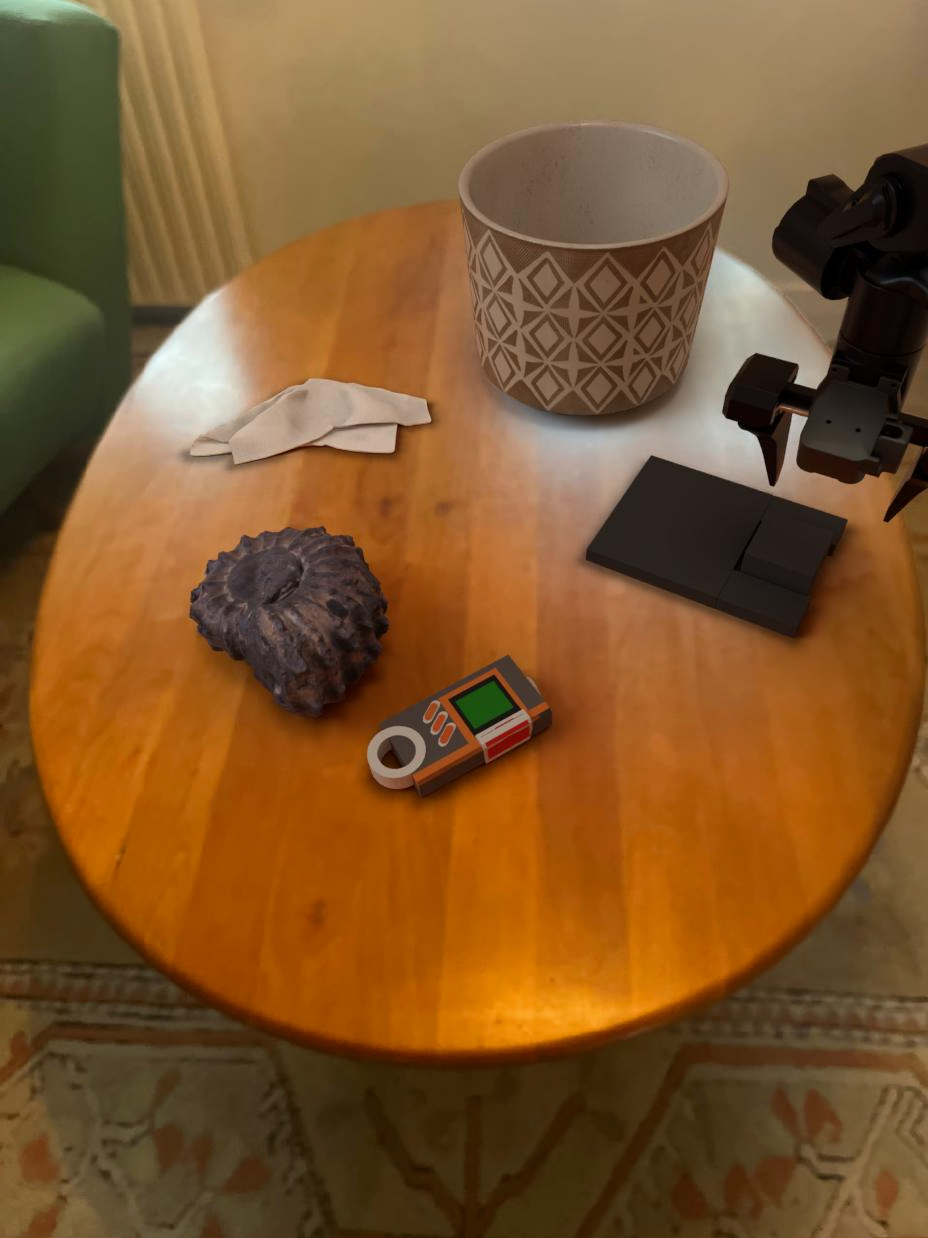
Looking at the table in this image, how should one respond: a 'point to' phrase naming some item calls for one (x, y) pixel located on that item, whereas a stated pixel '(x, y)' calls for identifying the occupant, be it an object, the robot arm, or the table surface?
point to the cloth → (316, 421)
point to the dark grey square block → (787, 552)
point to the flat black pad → (702, 541)
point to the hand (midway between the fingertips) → (829, 500)
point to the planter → (589, 260)
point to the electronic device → (459, 728)
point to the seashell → (294, 613)
